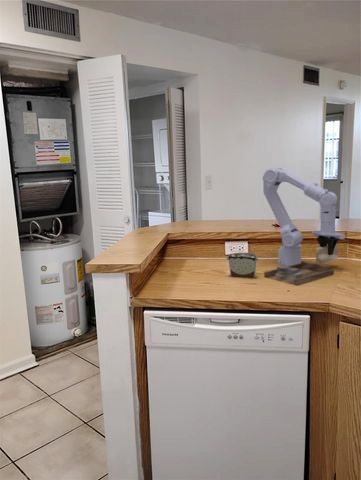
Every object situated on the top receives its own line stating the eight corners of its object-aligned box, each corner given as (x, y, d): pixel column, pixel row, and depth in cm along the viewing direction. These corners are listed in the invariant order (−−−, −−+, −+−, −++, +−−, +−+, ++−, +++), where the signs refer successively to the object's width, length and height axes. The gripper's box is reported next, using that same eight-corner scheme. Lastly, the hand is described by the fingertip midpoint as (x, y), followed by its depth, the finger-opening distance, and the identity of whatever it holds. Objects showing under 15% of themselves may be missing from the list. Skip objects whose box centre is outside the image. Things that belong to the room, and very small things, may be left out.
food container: (261, 277, 166) (261, 253, 165) (257, 281, 161) (257, 256, 159) (232, 275, 172) (231, 251, 170) (227, 278, 166) (227, 254, 164)
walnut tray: (264, 279, 163) (264, 269, 162) (300, 269, 175) (300, 260, 175) (296, 288, 150) (297, 277, 149) (333, 276, 162) (333, 267, 162)
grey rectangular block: (316, 262, 170) (316, 248, 169) (332, 258, 176) (332, 244, 175) (321, 263, 168) (321, 249, 167) (337, 259, 174) (337, 245, 173)
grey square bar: (275, 277, 162) (275, 266, 161) (282, 275, 164) (282, 265, 164) (295, 282, 154) (295, 271, 153) (302, 280, 156) (302, 269, 155)
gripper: (307, 221, 173) (306, 253, 175) (337, 224, 161) (337, 258, 163) (317, 219, 177) (317, 250, 179) (348, 222, 165) (347, 255, 167)
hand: (327, 254), depth 172 cm, fingers closed on grey rectangular block, 2 cm apart
